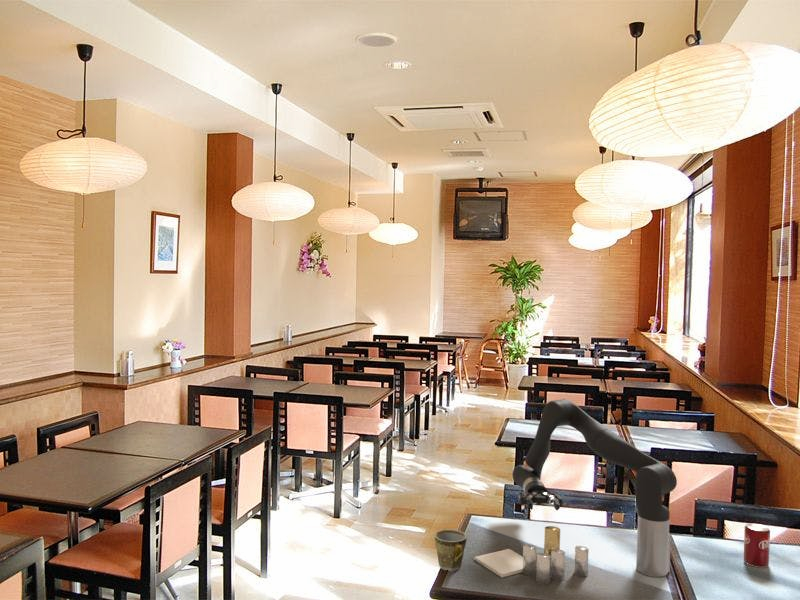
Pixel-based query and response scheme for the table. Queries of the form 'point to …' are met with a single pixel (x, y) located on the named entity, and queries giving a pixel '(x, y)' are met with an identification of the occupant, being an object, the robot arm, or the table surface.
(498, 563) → the pad
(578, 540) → the table surface
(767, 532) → the soda can
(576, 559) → the spacers
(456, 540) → the ceramic cup
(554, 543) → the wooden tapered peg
